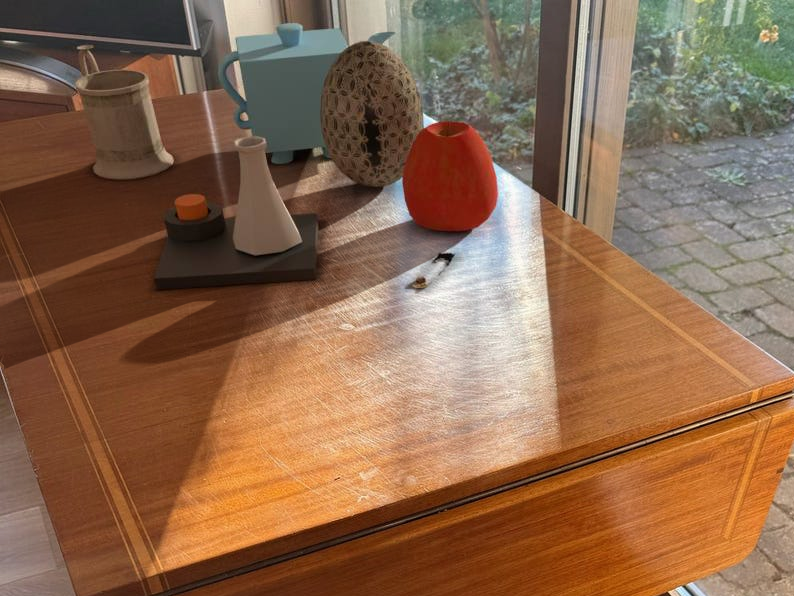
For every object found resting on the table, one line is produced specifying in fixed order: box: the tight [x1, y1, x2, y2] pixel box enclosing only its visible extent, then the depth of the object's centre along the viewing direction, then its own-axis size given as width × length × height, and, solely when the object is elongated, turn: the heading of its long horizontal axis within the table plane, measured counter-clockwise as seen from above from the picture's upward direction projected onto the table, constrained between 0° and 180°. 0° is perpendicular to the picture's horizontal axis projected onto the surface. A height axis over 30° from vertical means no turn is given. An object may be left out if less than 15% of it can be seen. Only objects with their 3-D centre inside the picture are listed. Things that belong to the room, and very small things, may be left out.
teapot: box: [217, 22, 396, 165], centre depth 122 cm, size 22×11×14 cm, turn 102°
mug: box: [74, 44, 174, 181], centre depth 121 cm, size 14×10×12 cm
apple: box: [401, 120, 499, 232], centre depth 105 cm, size 10×10×10 cm
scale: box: [153, 201, 320, 291], centre depth 103 cm, size 16×15×3 cm
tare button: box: [174, 193, 209, 220], centre depth 105 cm, size 3×3×2 cm
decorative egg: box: [320, 40, 425, 188], centre depth 112 cm, size 12×12×15 cm
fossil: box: [411, 252, 456, 289], centre depth 100 cm, size 8×2×1 cm, turn 160°
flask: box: [233, 135, 302, 255], centre depth 100 cm, size 7×7×10 cm
